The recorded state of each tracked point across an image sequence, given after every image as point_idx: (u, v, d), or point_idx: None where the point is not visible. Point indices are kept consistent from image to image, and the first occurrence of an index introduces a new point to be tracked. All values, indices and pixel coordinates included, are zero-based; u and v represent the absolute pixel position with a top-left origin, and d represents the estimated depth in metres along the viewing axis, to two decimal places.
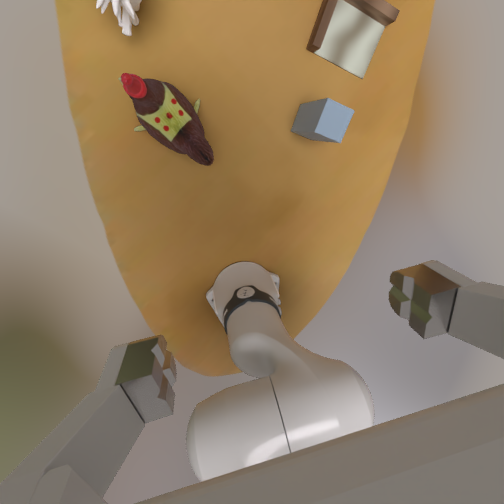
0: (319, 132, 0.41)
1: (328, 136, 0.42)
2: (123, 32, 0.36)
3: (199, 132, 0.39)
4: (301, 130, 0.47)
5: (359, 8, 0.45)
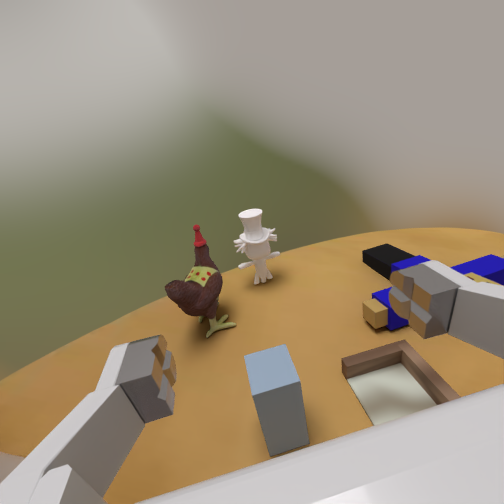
0: (246, 360, 0.29)
1: (249, 374, 0.28)
2: None
3: (194, 290, 0.45)
4: None
5: (426, 390, 0.34)
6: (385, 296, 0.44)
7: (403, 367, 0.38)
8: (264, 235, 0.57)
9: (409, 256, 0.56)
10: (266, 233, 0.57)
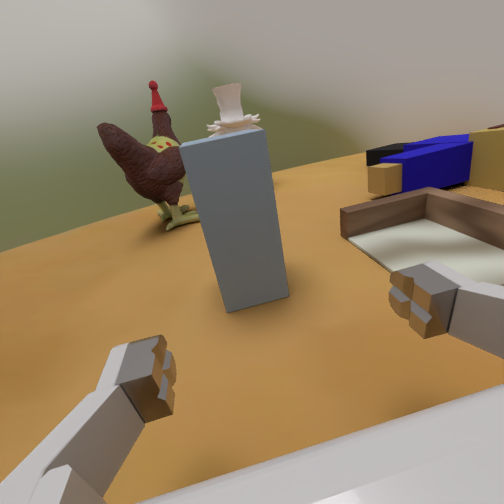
0: None
1: (184, 144, 0.17)
2: None
3: (144, 149, 0.34)
4: None
5: (468, 230, 0.22)
6: (398, 156, 0.33)
7: (428, 221, 0.26)
8: None
9: None
10: (247, 117, 0.46)
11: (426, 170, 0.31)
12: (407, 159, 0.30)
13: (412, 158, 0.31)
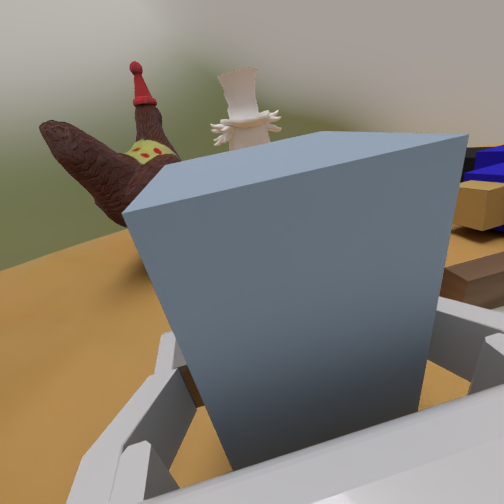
0: (169, 167, 0.07)
1: (160, 178, 0.06)
2: None
3: (119, 160, 0.23)
4: None
5: None
6: (497, 170, 0.22)
7: None
8: None
9: None
10: (264, 114, 0.35)
11: None
12: None
13: None
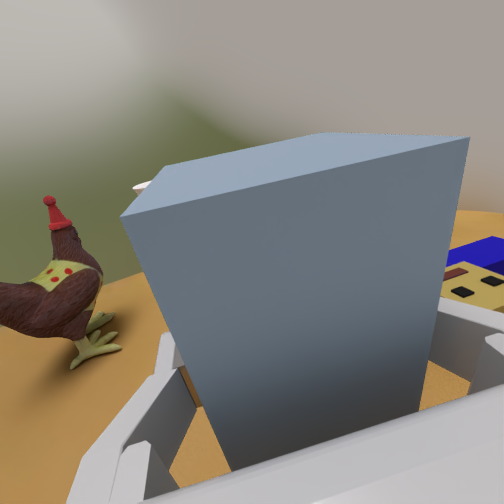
0: (168, 168, 0.07)
1: (159, 180, 0.06)
2: None
3: (24, 297, 0.27)
4: None
5: None
6: None
7: None
8: None
9: None
10: None
11: None
12: None
13: None
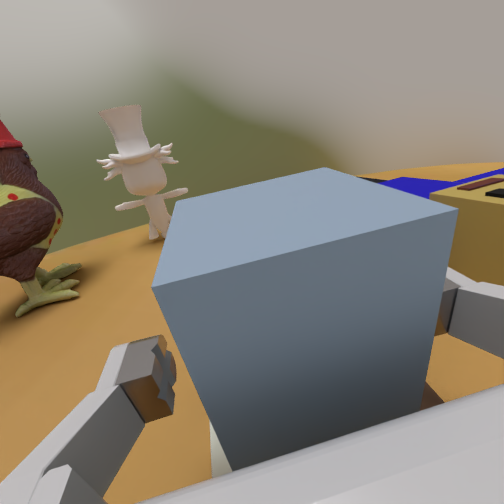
0: (181, 206, 0.07)
1: (176, 227, 0.06)
2: (116, 206, 0.37)
3: None
4: None
5: None
6: None
7: None
8: None
9: None
10: None
11: None
12: None
13: None
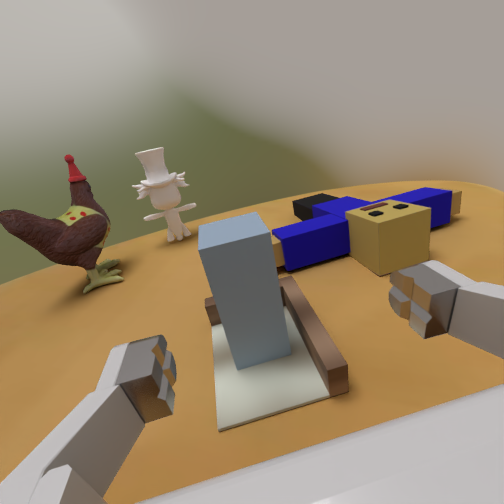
0: (201, 228, 0.21)
1: (201, 236, 0.20)
2: (144, 217, 0.50)
3: (50, 226, 0.36)
4: None
5: (300, 332, 0.25)
6: (284, 230, 0.36)
7: (286, 310, 0.28)
8: (170, 179, 0.48)
9: None
10: (172, 176, 0.48)
11: (304, 247, 0.34)
12: (282, 239, 0.33)
13: (287, 238, 0.33)
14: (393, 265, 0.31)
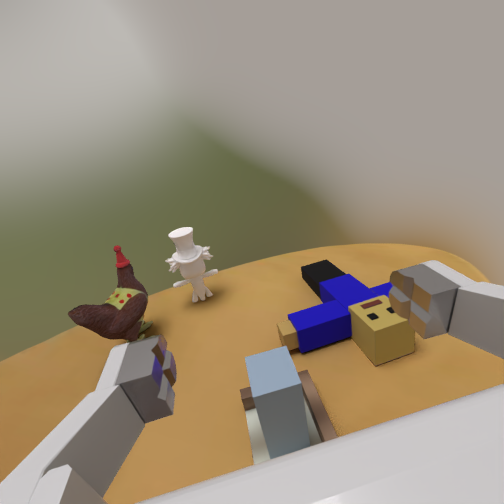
0: (247, 362, 0.29)
1: (250, 375, 0.28)
2: (174, 284, 0.58)
3: (106, 314, 0.44)
4: None
5: (316, 426, 0.33)
6: (298, 318, 0.44)
7: None
8: (197, 254, 0.56)
9: (340, 274, 0.55)
10: (199, 252, 0.56)
11: (315, 335, 0.42)
12: (298, 331, 0.41)
13: (302, 330, 0.41)
14: (386, 357, 0.39)
